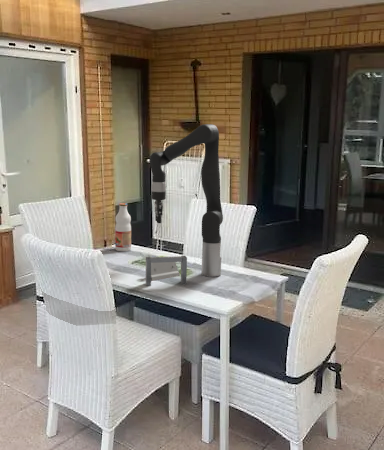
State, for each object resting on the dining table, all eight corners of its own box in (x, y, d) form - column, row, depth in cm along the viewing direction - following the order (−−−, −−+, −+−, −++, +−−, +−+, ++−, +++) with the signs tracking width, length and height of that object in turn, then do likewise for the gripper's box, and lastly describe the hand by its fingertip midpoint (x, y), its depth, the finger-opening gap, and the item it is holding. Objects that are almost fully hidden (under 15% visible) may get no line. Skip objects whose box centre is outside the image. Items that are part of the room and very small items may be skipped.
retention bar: (184, 281, 240) (185, 255, 237) (186, 284, 236) (187, 257, 233) (145, 283, 236) (145, 256, 233) (146, 285, 232) (146, 259, 229)
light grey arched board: (151, 280, 240) (148, 260, 240) (147, 281, 243) (143, 261, 244) (180, 275, 249) (177, 256, 250) (175, 276, 253) (172, 257, 254)
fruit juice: (130, 251, 292) (130, 205, 287) (114, 251, 292) (114, 204, 286) (131, 248, 301) (132, 202, 296) (116, 247, 301) (116, 202, 296)
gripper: (167, 192, 254) (167, 224, 258) (163, 188, 268) (163, 219, 271) (153, 192, 253) (153, 224, 256) (149, 188, 266) (149, 219, 270)
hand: (158, 221), depth 264 cm, fingers open, 4 cm apart
